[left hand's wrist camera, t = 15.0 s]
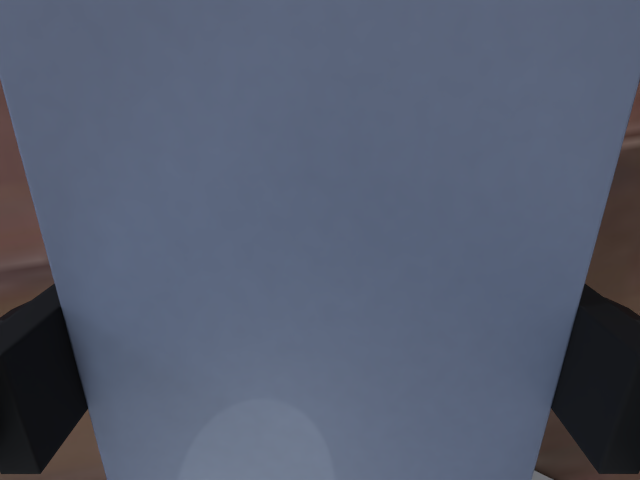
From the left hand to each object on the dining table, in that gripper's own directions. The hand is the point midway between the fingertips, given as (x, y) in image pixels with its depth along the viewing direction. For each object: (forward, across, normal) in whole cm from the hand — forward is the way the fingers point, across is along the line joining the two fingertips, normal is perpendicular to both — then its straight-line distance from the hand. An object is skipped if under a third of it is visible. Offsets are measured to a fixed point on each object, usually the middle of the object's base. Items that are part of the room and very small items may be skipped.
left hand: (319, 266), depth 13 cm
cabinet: (+4, 0, -6) cm, 8 cm away
